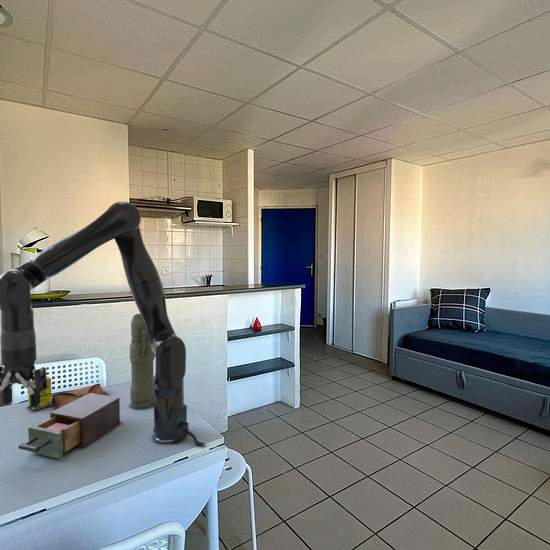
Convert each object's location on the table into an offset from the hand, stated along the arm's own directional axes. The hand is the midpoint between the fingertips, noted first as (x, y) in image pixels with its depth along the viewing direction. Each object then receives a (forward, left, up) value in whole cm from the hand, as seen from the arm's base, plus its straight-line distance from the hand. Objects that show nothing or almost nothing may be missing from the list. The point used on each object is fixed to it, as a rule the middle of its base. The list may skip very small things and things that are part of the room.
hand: (21, 404), depth 93 cm
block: (0, -10, -16) cm, 19 cm away
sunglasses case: (+21, -39, -18) cm, 48 cm away
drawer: (0, -11, -17) cm, 20 cm away
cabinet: (0, -21, -18) cm, 28 cm away
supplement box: (+31, -30, -18) cm, 47 cm away
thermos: (-4, -44, -18) cm, 48 cm away
